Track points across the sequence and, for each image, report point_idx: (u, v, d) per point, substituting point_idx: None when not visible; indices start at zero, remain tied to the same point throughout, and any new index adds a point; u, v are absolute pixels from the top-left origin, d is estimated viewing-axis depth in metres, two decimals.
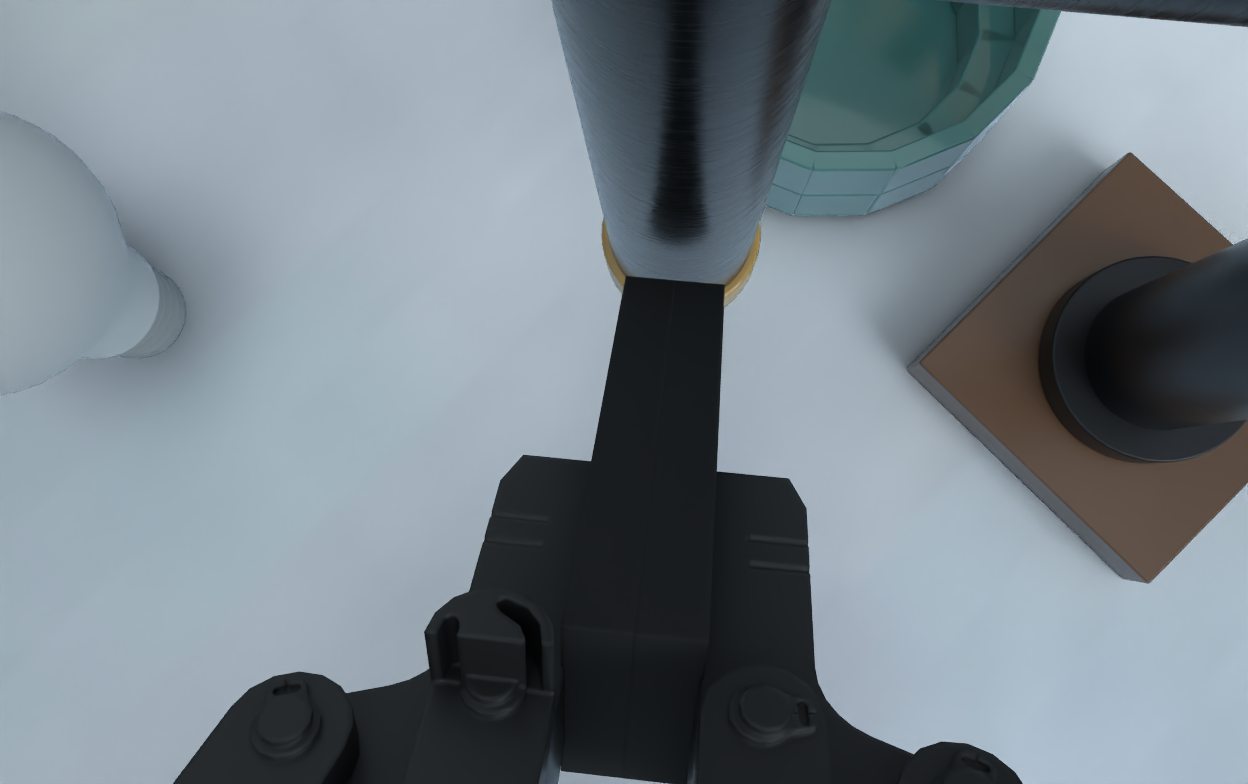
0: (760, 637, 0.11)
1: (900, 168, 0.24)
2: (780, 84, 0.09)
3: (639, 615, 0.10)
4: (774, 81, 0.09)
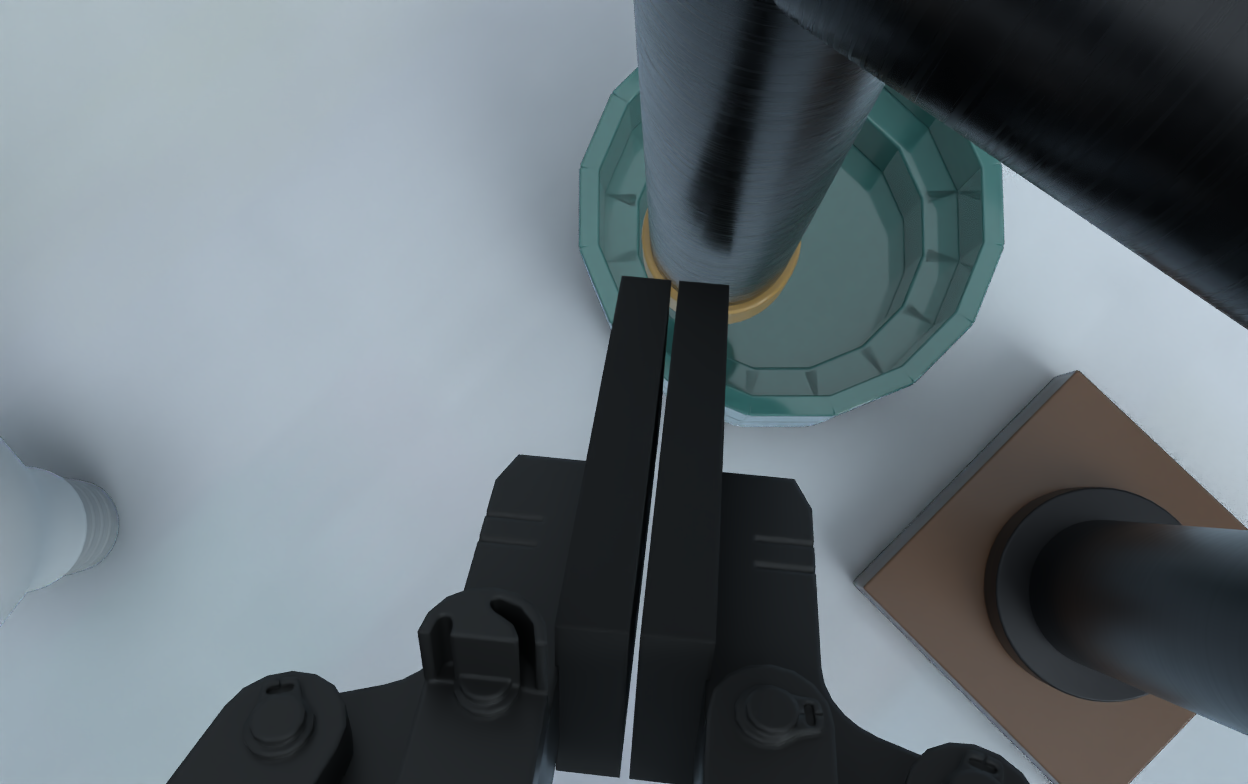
0: (766, 638, 0.11)
1: (838, 414, 0.23)
2: (798, 126, 0.09)
3: (645, 615, 0.10)
4: (791, 120, 0.09)
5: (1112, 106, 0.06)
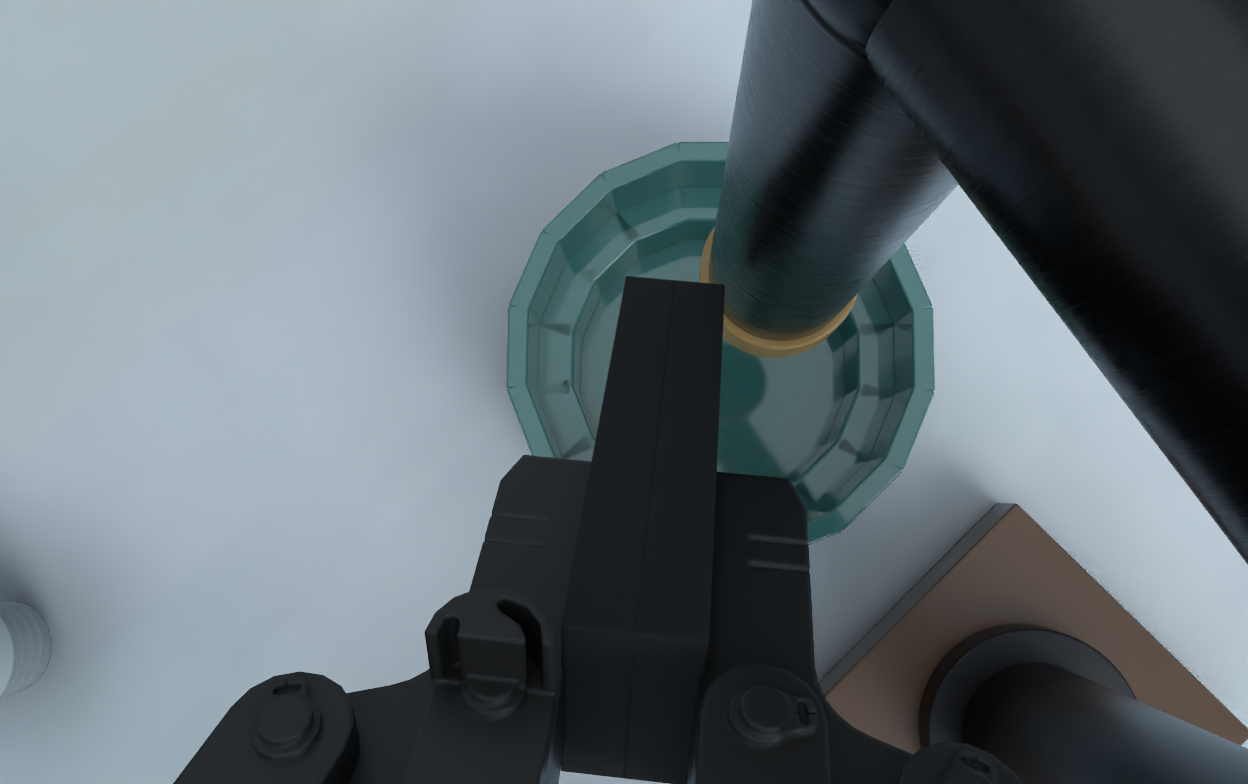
0: (760, 637, 0.11)
1: None
2: (865, 187, 0.09)
3: (639, 615, 0.10)
4: (860, 178, 0.09)
5: (1147, 263, 0.06)
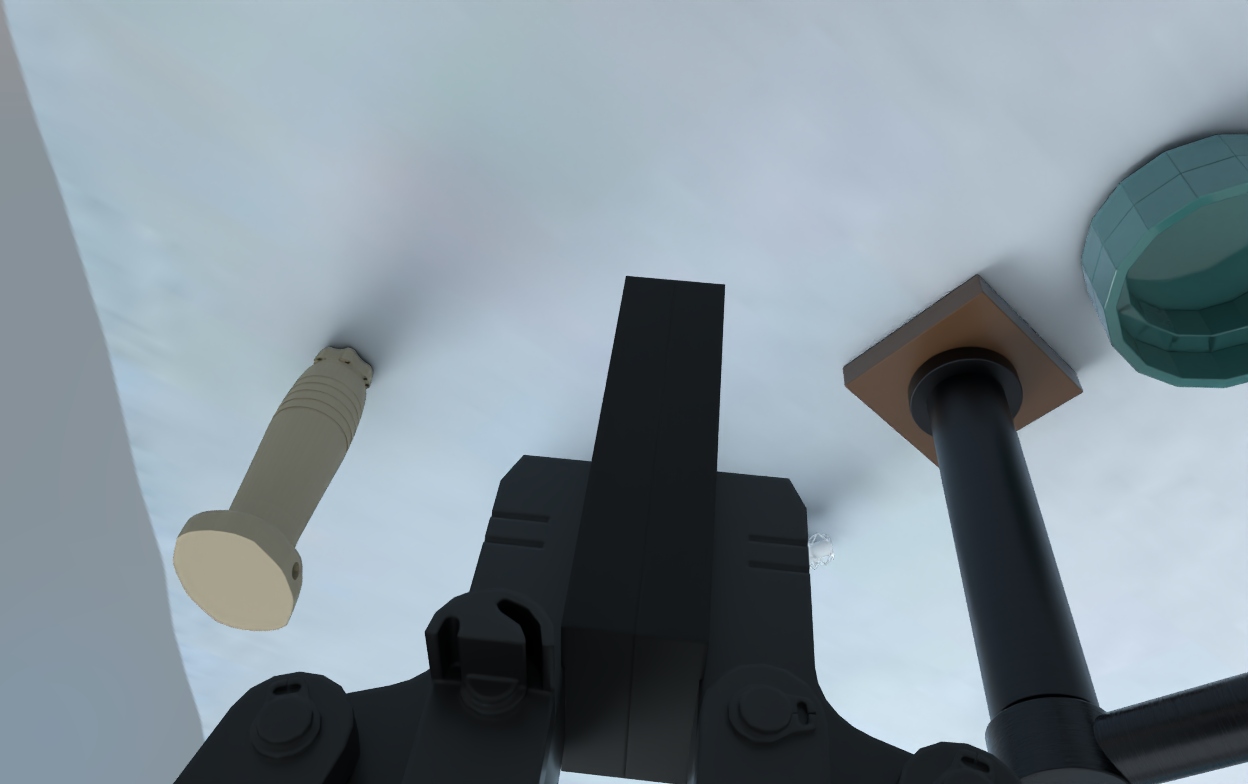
0: (759, 637, 0.11)
1: (1104, 310, 0.42)
2: None
3: (639, 615, 0.10)
4: None
5: None
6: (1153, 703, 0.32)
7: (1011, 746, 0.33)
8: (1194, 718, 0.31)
